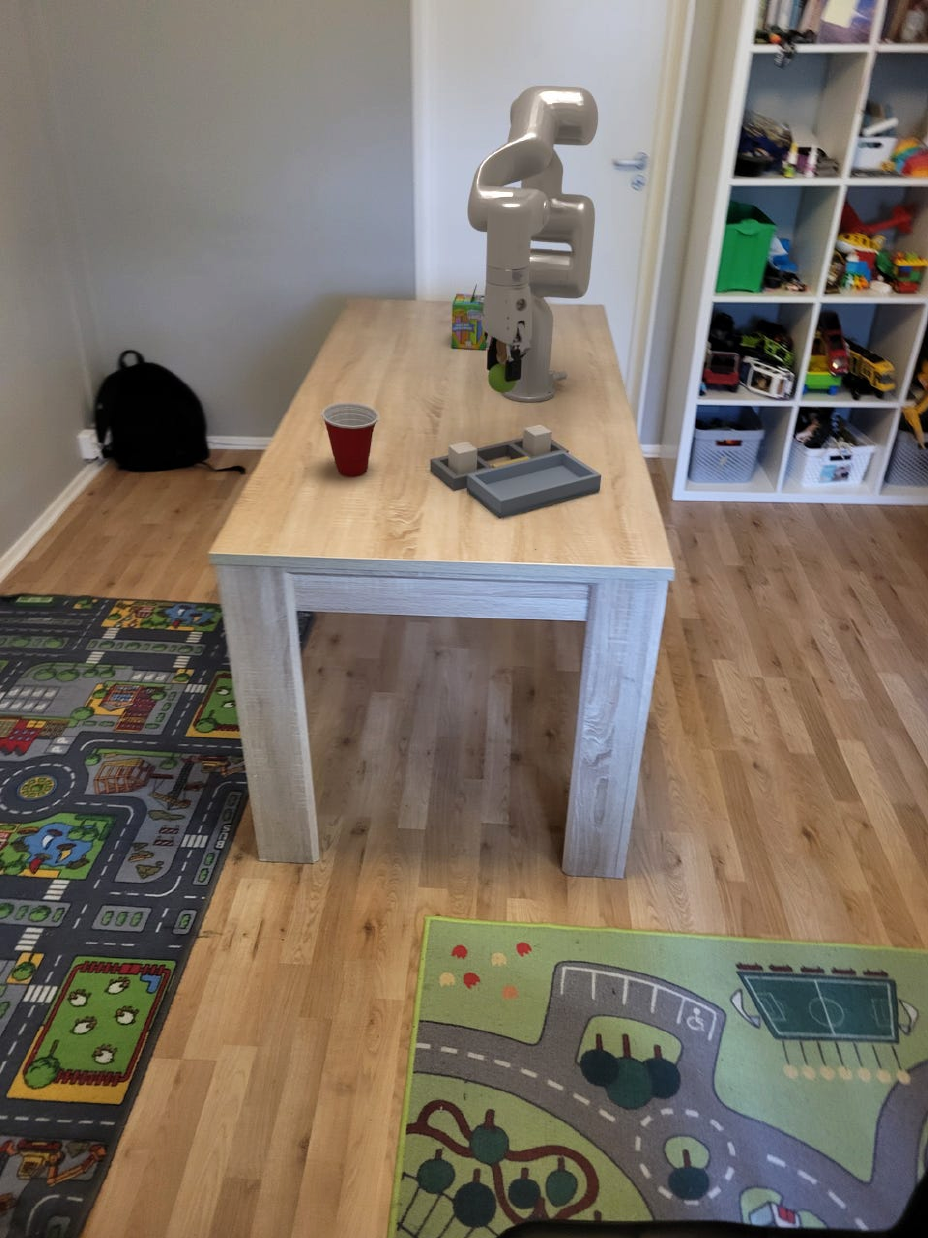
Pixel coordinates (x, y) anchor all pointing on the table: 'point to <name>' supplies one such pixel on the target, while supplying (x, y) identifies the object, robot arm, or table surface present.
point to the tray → (533, 483)
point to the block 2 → (536, 440)
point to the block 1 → (462, 458)
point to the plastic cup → (350, 435)
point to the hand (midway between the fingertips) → (503, 373)
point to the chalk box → (468, 322)
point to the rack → (483, 454)
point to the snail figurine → (500, 370)
